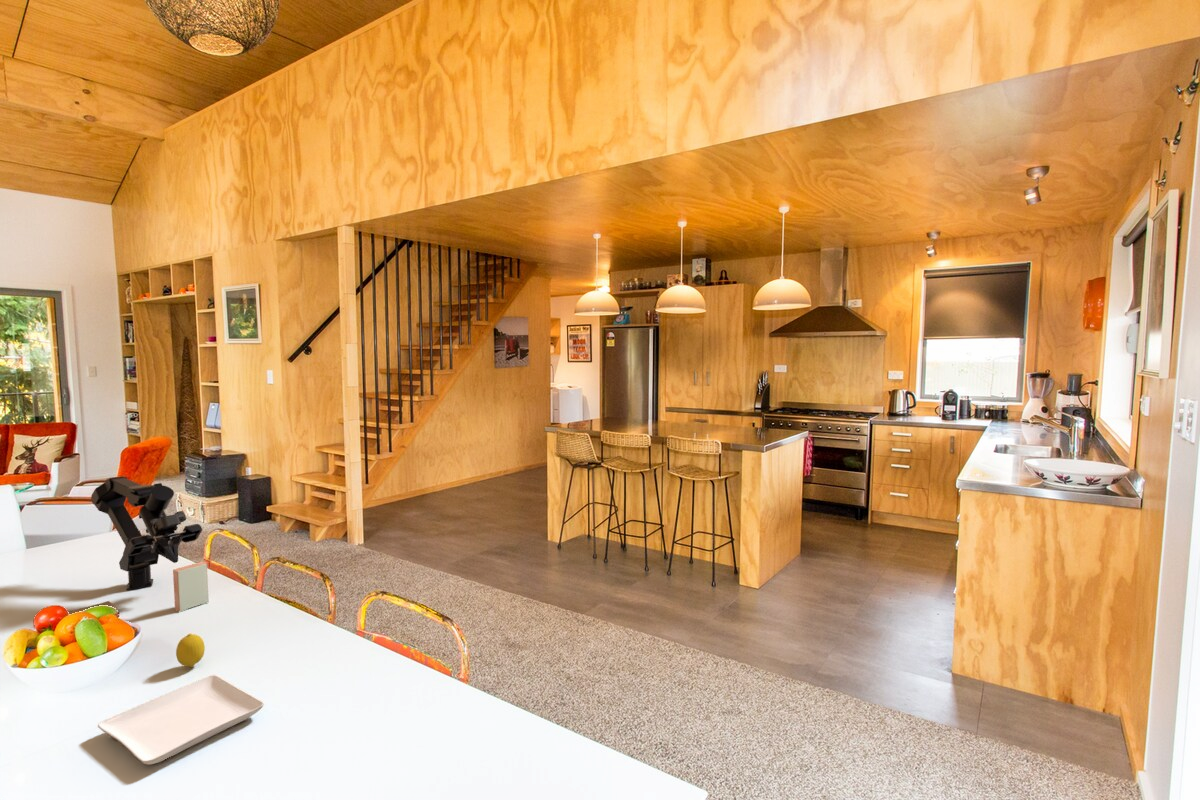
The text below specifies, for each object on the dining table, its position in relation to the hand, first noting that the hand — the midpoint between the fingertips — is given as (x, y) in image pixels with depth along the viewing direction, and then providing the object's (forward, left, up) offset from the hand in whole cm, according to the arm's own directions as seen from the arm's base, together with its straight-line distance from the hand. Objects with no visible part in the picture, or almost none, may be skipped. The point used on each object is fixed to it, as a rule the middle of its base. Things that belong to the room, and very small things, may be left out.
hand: (176, 561), depth 180 cm
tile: (+8, +4, -12) cm, 15 cm away
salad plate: (+77, +3, -12) cm, 78 cm away
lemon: (+50, +4, -12) cm, 51 cm away
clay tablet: (-1, -20, -13) cm, 24 cm away
